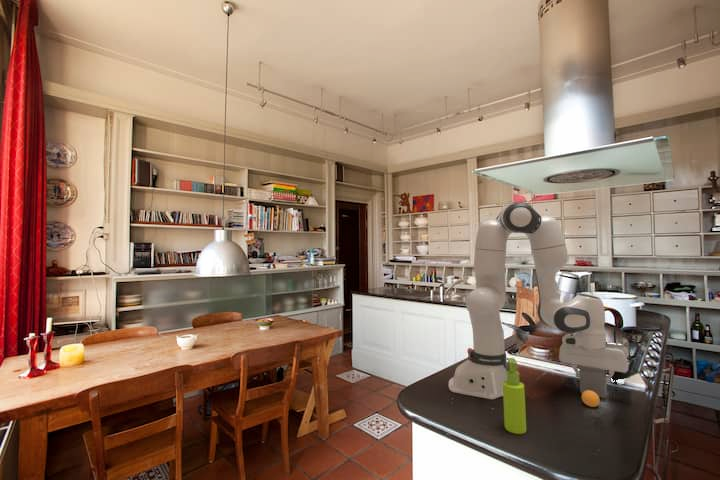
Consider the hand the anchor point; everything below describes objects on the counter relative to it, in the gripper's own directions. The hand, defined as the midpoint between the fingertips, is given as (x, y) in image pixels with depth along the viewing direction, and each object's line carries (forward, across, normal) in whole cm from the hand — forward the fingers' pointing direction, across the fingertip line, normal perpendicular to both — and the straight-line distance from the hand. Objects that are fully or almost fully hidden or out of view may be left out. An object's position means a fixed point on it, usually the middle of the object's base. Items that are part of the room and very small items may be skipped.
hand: (592, 379), depth 121 cm
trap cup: (+4, 0, 0) cm, 4 cm away
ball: (+3, 0, +10) cm, 10 cm away
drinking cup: (+6, -6, -18) cm, 20 cm away
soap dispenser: (+6, +16, +38) cm, 42 cm away
